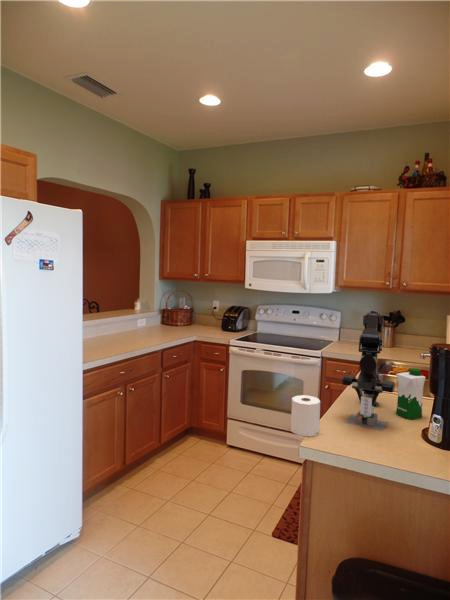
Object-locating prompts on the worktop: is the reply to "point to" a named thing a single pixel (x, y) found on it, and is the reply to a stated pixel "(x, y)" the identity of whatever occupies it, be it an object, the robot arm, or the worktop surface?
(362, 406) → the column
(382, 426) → the stand
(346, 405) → the worktop surface
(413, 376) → the milk carton
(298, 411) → the toilet paper
